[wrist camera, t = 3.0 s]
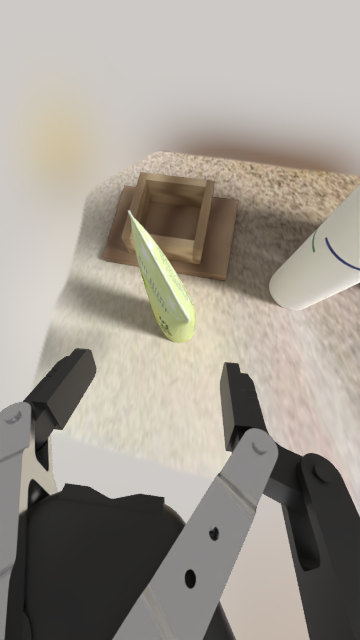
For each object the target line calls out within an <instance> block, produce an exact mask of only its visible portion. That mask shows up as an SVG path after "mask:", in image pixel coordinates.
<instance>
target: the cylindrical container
mask: <svg viewBox="0 0 360 640" xmlns="http://www.w3.org/2000/svg"><path fill="white" fill-rule="evenodd" d="M358 283H360V185H359V186H358V187H357V188H356V189H355V190H354V191H353V192H352V193H351V194H350V195H349V196H348V197H347V198H346V199H345V200H344V201H343V202H342V204H341V205H340V206H339V207H338V208H337V209H336V210H335V211H334V212H333V213H332V214H331V215H330V216H329V217H328V218H327V219H326V220H325V221H324V222H323V223H322V224H321V225H320V227H318V228H317V229H316V231H315V232H314V233H313V234H312V235H311V236H310V237H309V238H308V239H307V240H306V241H305V242H304V243H303V244H302V245H301V246H300V247H299V248H298V249H297V250H296V251H295V252H294V253H293V254H292V256H291V257H290V258H289V259H288V260H287V261H286V262H285V263H284V264H283V265H282V266H281V267H280V268H279V269H278V270H277V271H276V272H275V273H274V274H273V276H272V277H271V279H270V282H269V290H270V294H271V296H272V298H273V299H274V300H275V302H276V303H278V304H279V305H280V306H282V307H284V308H286V309H290V310H300V309H304V308H306V307H308V306H311V305H313V304H315V303H317V302H319V301H321V300H323V299H326V298H328V297H330V296H332V295H334V294H336V293H338V292H341V291H343V290H345V289H347V288H349V287H351V286H354V285H356V284H358Z"/></svg>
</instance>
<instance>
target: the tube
mask: <svg viewBox="0 0 360 640" xmlns="http://www.w3.org/2000/svg"><path fill="white" fill-rule="evenodd" d="M128 214H129V216H130V218H131V226H132V234H133V240H134V246H135V251H136V255H137V260H138V263H139V267H140V271H141V274H142V278H143V281H144V285H145V288H146V291H147V295H148V298H149V301H150V304H151V307H152V310H153V313H154V315H155V318H156V320H157V322H158V324H159V326H160V328H161V330H162V331H163V333H164V334H165V336H166V337H167V338H168V339H170V340H171V341H173V342H177V343H182V342H185V341H187V340H189V339H190V338H191V337H192V336H193V334H194V332H195V326H196V316H195V309H194V305H193V302H192V300H191V298H190V296H189V294H188V292H187V290H186V289H185V287H184V285H183V284H182V282H181V280H180V279H179V277H178V275H177V273H176V272H175V270H174V269H173V267H172V265H171V264H170V262H169V261H168V259H167V258H166V256H165V255H164V253H163V252H162V251H161V249H160V248H159V246H158V245H157V244H156V242H155V241H154V240H153V239H152V237H151V236H150V235H149V233H148V232H147V231H146V230H145V229H144V228H143V226H142V225H141V224H140V223H139V222H138V221H137V220H136V219H135V218H134V217H133V215H132V214H131V212H130V211H129V210H128Z"/></svg>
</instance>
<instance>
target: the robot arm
mask: <svg viewBox="0 0 360 640" xmlns="http://www.w3.org/2000/svg"><path fill="white" fill-rule="evenodd" d="M95 374H96V365H95V362H94V358H93V355H92V352H91V350H90V349H80V348H76V349H75V350H74V351H73V352H72V353H71V354H70V356H66V357H64V358H63V359H61V360H60V361H58V362H57V363H56V364H55V366H54V367H53V368H52V369H51V371H49V372H48V374H47V375H46V377H44V378H43V379H42V380H41V382H40V383H39V384H38V385H37V386H36V387H35V388H34V389H33V391H32V392H31V393H30V394H29V395H28V396H27V397H26V399H25V400H24V401H23V402H19V403H15V404H13V405H10V406H8V407H7V408H5V409H4V410H2V411H1V412H0V640H236V639H235V636H234V634H233V632H232V629H231V627H230V625H229V622H228V620H227V618H226V615H225V613H224V610H223V608H222V606H221V603H220V601H219V600H220V597H221V595H222V593H223V590H224V588H225V586H226V583H227V581H228V578H229V576H230V574H231V571H232V569H233V567H234V564H235V561H236V560H237V557H238V555H239V552H240V550H241V548H242V545H243V543H244V541H245V538H246V536H247V533H248V531H249V529H250V526H251V524H252V522H253V519H254V516H255V513H256V508H257V505H258V502H259V500H260V497H261V495H262V493H263V494H264V495H266V496H268V497H270V498H272V499H274V500H276V501H277V502H279V503H281V505H282V511H283V515H284V520H285V524H286V530H287V534H288V539H289V544H290V548H291V553H292V558H293V562H294V567H295V572H296V577H297V581H298V586H299V590H300V596H301V600H302V605H303V610H304V614H305V619H306V624H307V628H308V633H309V638H310V640H360V516H359V514H358V512H357V510H356V508H355V505H354V503H353V501H352V499H351V496H350V494H349V492H348V490H347V488H346V485H345V483H344V481H343V479H342V477H341V475H340V473H339V472H338V470H337V469H336V468H335V466H334V465H333V464H332V463H331V462H329V461H328V460H327V459H325V458H324V457H322V456H320V455H318V454H314V453H309V454H306V455H304V456H300V455H298V454H296V453H294V452H291V451H289V450H287V449H285V448H283V447H281V446H280V445H278V444H277V443H276V442H275V441H274V440H273V438H272V437H271V436H270V435H269V433H268V431H267V429H266V426H265V422H264V419H263V415H262V412H261V408H260V404H259V401H258V397H257V393H256V390H255V386H254V383H253V381H252V379H251V378H250V377H249V375H248V374H245V373H240V368H239V364H238V363H228V362H225V363H224V366H223V371H222V376H221V380H220V394H221V405H222V416H223V427H224V437H225V448H226V451H231V452H232V455H231V456H230V458H229V459H228V461H227V463H226V464H225V466H224V467H223V469H222V471H221V472H220V473H219V474H218V475H217V476H216V478H215V479H214V481H213V482H212V484H211V486H210V487H209V489H208V490H207V492H206V494H205V495H204V497H203V498H202V500H201V502H200V503H199V505H198V506H197V508H196V510H195V511H194V513H193V514H192V516H191V518H190V519H189V521H188V522H187V524H185V522H184V521H183V520H182V518H181V517H180V516H179V515H178V514H177V512H175V511H174V510H173V509H172V508H171V507H169V506H167V505H166V504H165V502H164V497H157V496H151V495H144V494H136V495H131V496H126V497H121V498H116V499H110V498H108V497H106V496H104V495H102V494H101V493H99V492H97V491H96V490H94V489H92V488H91V487H88V486H81V485H74V484H65V486H64V488H63V490H62V491H60V492H57V486H56V482H55V480H54V476H53V466H52V445H51V436H50V434H51V433H52V431H53V429H58V430H63V428H64V427H65V425H66V423H67V422H68V420H69V418H70V417H71V415H72V413H73V412H74V410H75V408H76V407H77V405H78V403H79V402H80V400H81V398H82V397H83V395H84V393H85V392H86V390H87V388H88V387H89V385H90V383H91V382H92V380H93V378H94V377H95Z"/></svg>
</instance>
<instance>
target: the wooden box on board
mask: <svg viewBox="0 0 360 640" xmlns="http://www.w3.org/2000/svg"><path fill="white" fill-rule="evenodd" d="M214 185H215V181H210V180H201V179H193V178H184V177H176V176H167V175H159V174H151V173H142V172H141V173H140V176H139V179H138V183H137V186H136V187H131V186H124V189H123V192H122V196H121V199H120V202H119V205H118V208H117V212H116V215H115V218H114V221H113V224H112V228H111V231H110V234H109V237H108V240H107V244H106V247H105V250H104V253H103V256H102V257H103V258H104V259H105V260H106V261H108V262H114V263H120V264H126V265H132V266H138V267H139V263H138V260H137V255H136V251H135V246H134V240H133V234H132V226H131V218H130V216H129V214H128V210H129V211H130V212H131V214H132V215H133V217H134V218H135V219H136V220H137V221H138V222H139V223H140V224H141V225H142V226H143V228H144V229H145V230H146V231H147V232H148V233H149V235H150V236H151V237H152V239H153V240H154V241H155V242H156V244H157V245H158V246H159V248H160V249H161V251H162V252H163V253H164V255H165V256H166V258H167V259H168V261H169V262H170V264H171V265H172V267H173V269H174V270H175V272H176V273H181V274H187V275H193V276H199V277H205V278H211V279H217V280H223V281H225V278H226V276H227V269H228V263H229V257H230V251H231V245H232V238H233V232H234V226H235V220H236V214H237V207H238V201H239V200H234V199H226V198H218V197H213V192H214Z"/></svg>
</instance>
